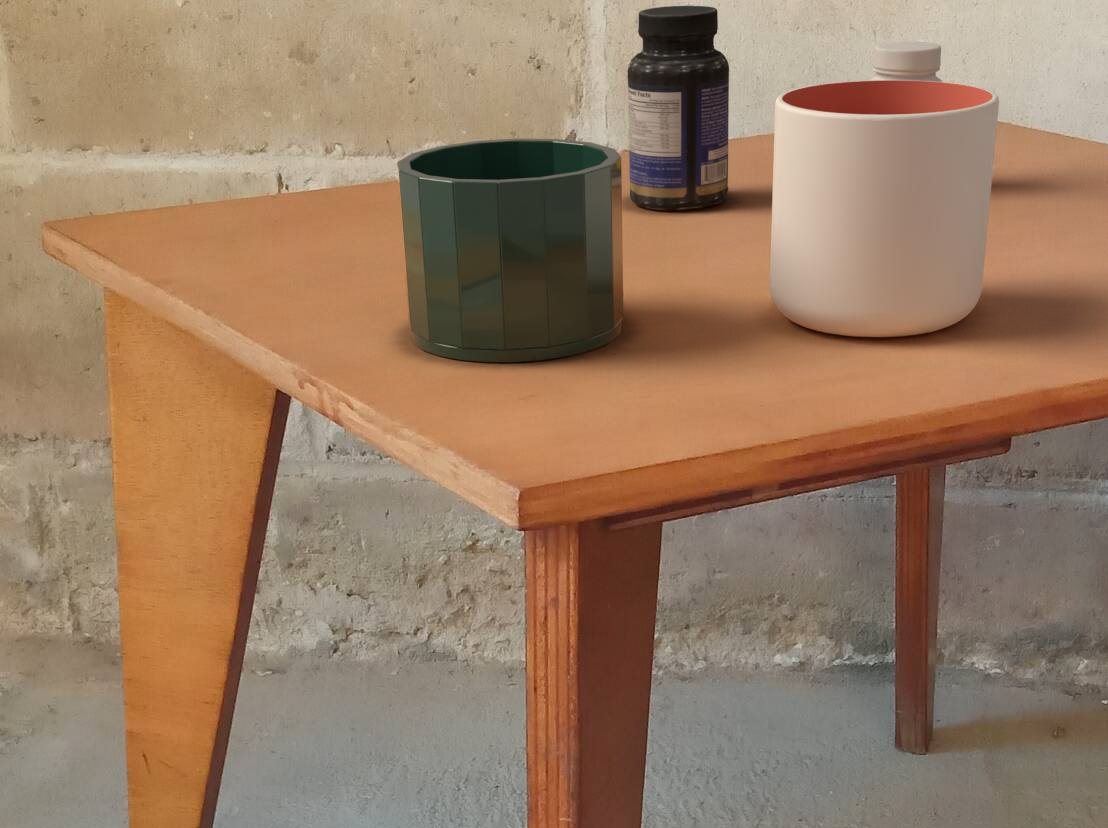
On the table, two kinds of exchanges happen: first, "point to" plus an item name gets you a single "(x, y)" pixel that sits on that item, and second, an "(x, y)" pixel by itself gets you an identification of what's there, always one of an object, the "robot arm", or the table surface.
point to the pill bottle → (678, 111)
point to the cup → (881, 204)
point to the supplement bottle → (907, 61)
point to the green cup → (512, 248)
